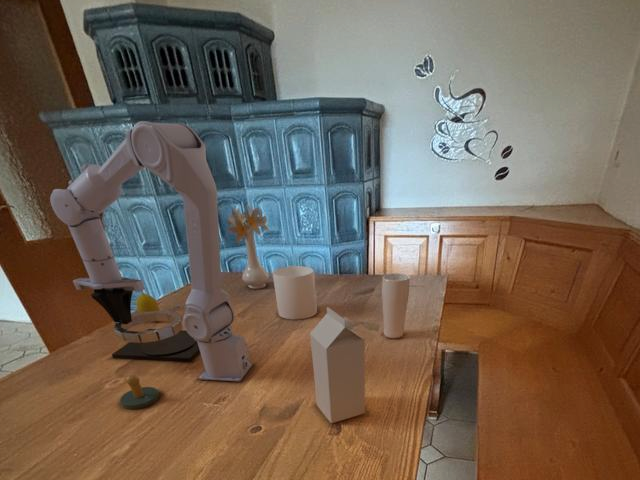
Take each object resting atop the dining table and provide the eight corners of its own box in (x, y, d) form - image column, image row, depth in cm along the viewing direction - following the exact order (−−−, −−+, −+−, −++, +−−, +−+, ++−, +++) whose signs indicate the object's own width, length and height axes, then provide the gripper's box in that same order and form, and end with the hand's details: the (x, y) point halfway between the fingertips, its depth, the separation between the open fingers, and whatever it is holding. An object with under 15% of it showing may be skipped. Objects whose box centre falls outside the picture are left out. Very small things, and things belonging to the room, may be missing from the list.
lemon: (155, 325, 110) (145, 297, 105) (138, 323, 111) (127, 295, 106) (166, 318, 114) (157, 290, 109) (150, 316, 115) (140, 289, 110)
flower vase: (238, 296, 130) (221, 212, 115) (241, 280, 144) (226, 204, 129) (277, 293, 132) (265, 210, 117) (276, 278, 146) (265, 202, 131)
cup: (324, 310, 118) (321, 269, 111) (300, 322, 110) (295, 279, 103) (295, 303, 123) (291, 264, 116) (270, 314, 115) (263, 273, 108)
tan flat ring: (193, 321, 91) (190, 312, 90) (163, 344, 81) (160, 335, 79) (140, 317, 92) (137, 309, 91) (103, 340, 82) (100, 331, 81)
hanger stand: (166, 391, 80) (157, 367, 77) (147, 410, 75) (136, 385, 71) (135, 390, 81) (125, 366, 78) (114, 408, 75) (102, 383, 72)
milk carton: (331, 424, 70) (324, 324, 59) (316, 405, 75) (307, 310, 64) (365, 414, 73) (365, 316, 61) (348, 396, 78) (345, 303, 66)
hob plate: (218, 335, 104) (217, 330, 103) (190, 362, 91) (188, 357, 90) (150, 332, 106) (148, 327, 105) (113, 358, 93) (110, 353, 92)
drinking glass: (377, 338, 101) (378, 279, 92) (385, 328, 106) (387, 271, 97) (401, 341, 99) (405, 282, 90) (409, 332, 104) (413, 274, 95)
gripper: (51, 262, 76) (82, 328, 84) (119, 263, 74) (143, 330, 82) (76, 253, 81) (103, 316, 89) (140, 255, 80) (161, 318, 88)
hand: (123, 322), depth 86 cm, fingers closed on tan flat ring, 1 cm apart
